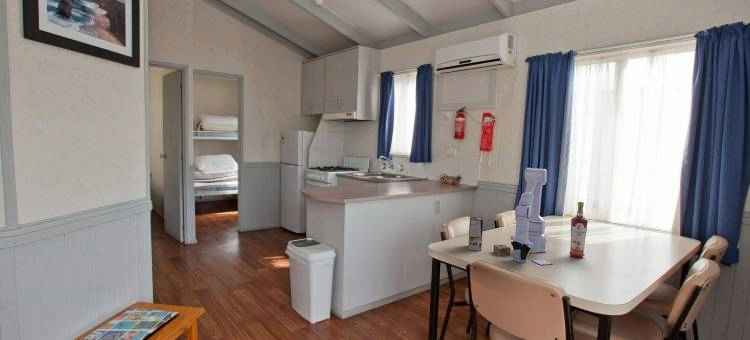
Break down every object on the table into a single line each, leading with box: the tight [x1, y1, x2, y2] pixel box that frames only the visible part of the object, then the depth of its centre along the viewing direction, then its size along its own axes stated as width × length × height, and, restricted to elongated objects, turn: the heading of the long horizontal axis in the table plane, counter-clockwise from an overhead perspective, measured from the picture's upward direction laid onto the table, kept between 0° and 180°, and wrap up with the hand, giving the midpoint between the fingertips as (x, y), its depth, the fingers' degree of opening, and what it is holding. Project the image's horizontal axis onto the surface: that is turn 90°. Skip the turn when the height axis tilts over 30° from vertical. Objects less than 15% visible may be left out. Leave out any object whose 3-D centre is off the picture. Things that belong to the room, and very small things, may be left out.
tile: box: [530, 258, 554, 266], centre depth 177 cm, size 7×7×1 cm
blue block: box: [513, 249, 528, 263], centre depth 178 cm, size 4×4×5 cm
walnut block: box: [492, 244, 512, 257], centre depth 189 cm, size 6×6×4 cm
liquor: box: [568, 201, 589, 259], centre depth 187 cm, size 7×7×28 cm
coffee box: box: [468, 216, 484, 252], centre depth 197 cm, size 9×6×16 cm
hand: (520, 258), depth 178 cm, fingers closed on blue block, 4 cm apart
